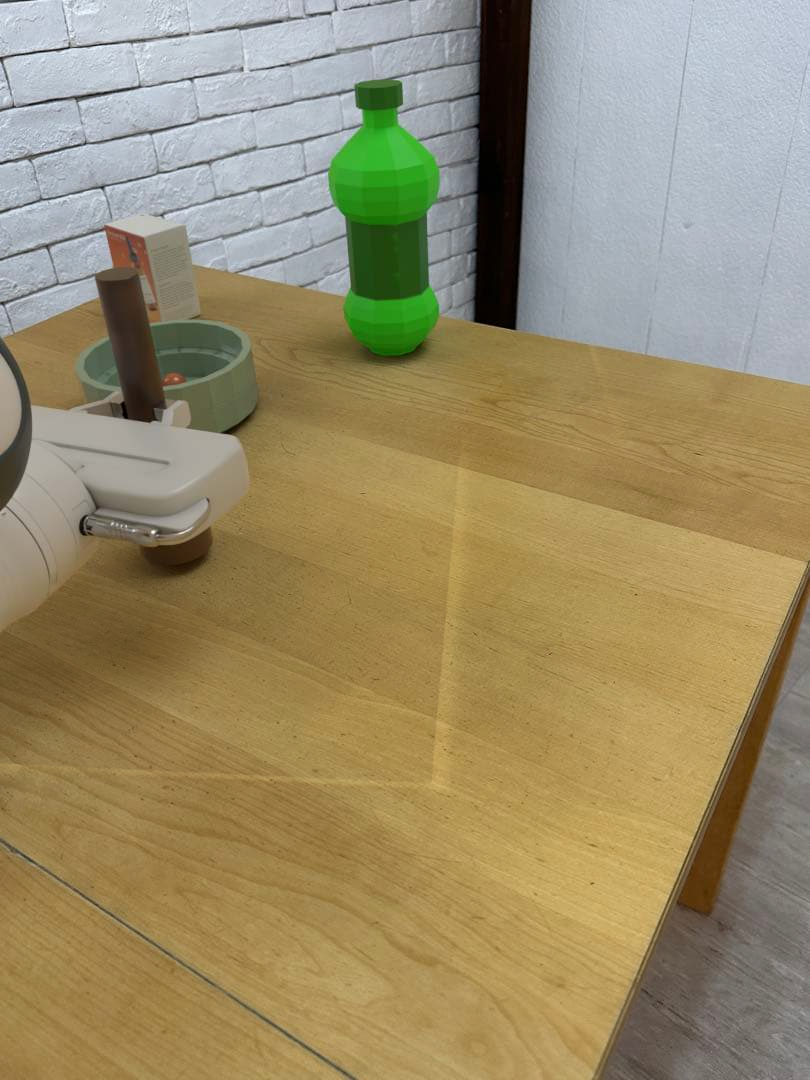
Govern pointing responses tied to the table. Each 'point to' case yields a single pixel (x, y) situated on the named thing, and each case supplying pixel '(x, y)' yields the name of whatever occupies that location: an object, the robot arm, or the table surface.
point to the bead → (173, 379)
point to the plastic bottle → (386, 224)
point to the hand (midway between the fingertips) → (154, 405)
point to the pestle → (139, 379)
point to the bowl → (186, 371)
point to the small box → (157, 264)
